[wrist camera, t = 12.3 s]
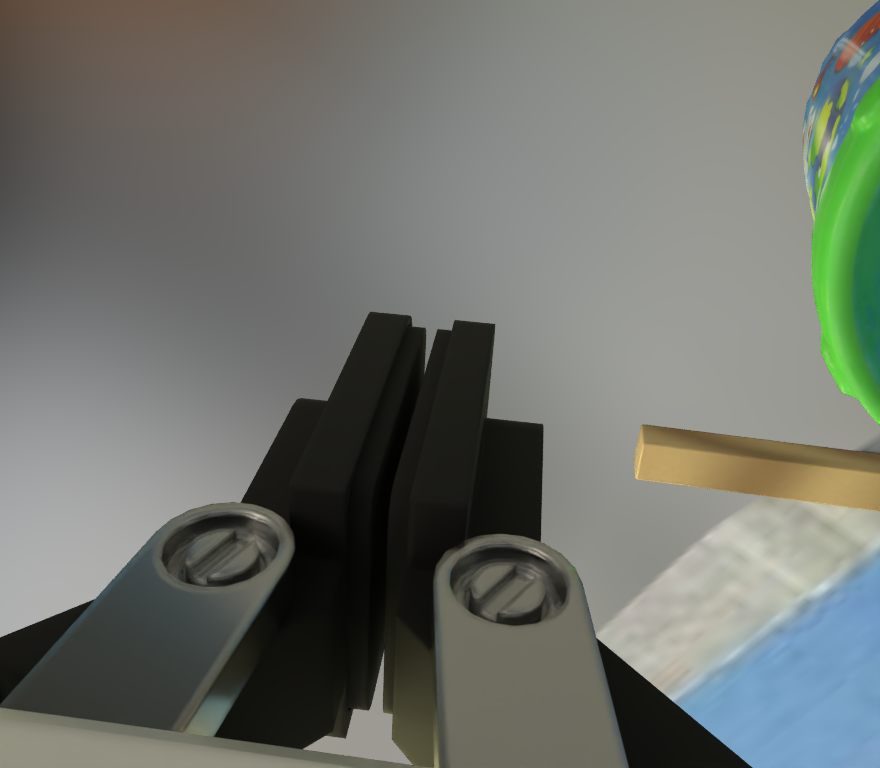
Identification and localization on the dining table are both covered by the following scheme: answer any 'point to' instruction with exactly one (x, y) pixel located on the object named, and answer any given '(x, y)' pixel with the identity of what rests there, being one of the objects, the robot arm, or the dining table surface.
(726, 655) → the dining table surface
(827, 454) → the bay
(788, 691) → the dining table surface
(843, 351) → the snack cup
